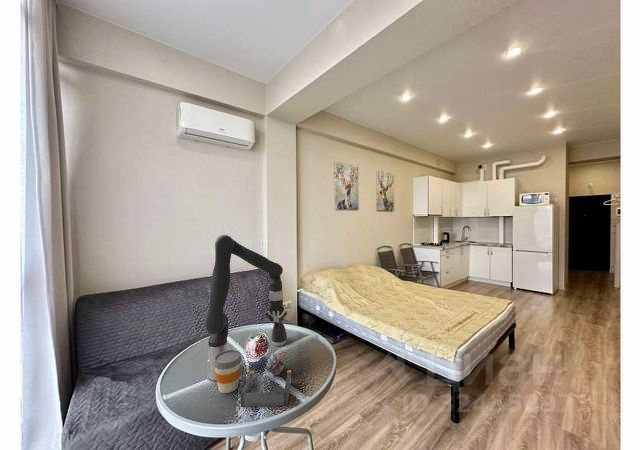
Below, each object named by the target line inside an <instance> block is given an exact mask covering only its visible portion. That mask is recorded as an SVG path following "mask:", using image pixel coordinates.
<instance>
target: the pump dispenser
mask: <svg viewBox="0 0 640 450" xmlns="http://www.w3.org/2000/svg"><path fill="white" fill-rule="evenodd" d="M270 339H271V343H272V345H273V346H275V347H281V346H284V345H286V342H287V340H288V334H287V330H286V327H285V324H284V323H283V321H280V322H279V328H278V329H275V328H274V326H273V327H272V331H271V336H270Z"/></svg>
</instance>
